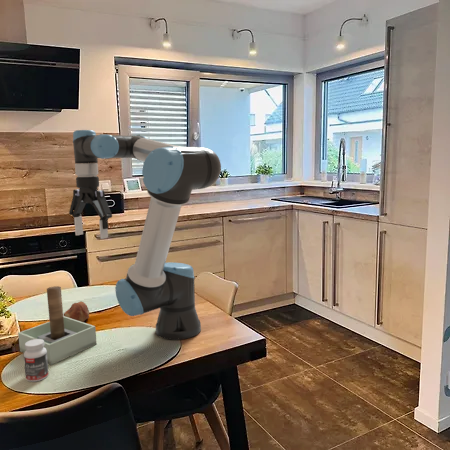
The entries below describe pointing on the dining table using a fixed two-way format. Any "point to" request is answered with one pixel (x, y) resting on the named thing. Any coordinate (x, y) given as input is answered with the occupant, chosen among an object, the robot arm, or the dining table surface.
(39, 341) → the pill bottle
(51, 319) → the peg
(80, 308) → the fossil
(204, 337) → the dining table surface
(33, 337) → the bin
